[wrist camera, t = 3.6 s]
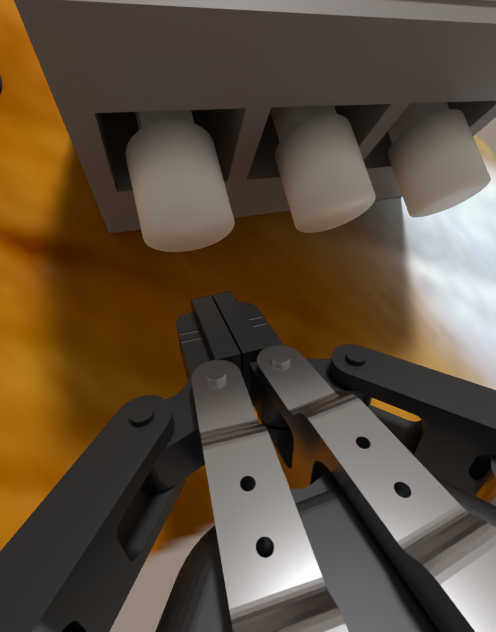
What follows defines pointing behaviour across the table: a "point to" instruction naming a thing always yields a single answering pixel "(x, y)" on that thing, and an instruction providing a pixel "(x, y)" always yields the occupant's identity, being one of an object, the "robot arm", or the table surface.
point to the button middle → (320, 167)
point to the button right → (435, 158)
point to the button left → (177, 183)
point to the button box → (255, 78)
